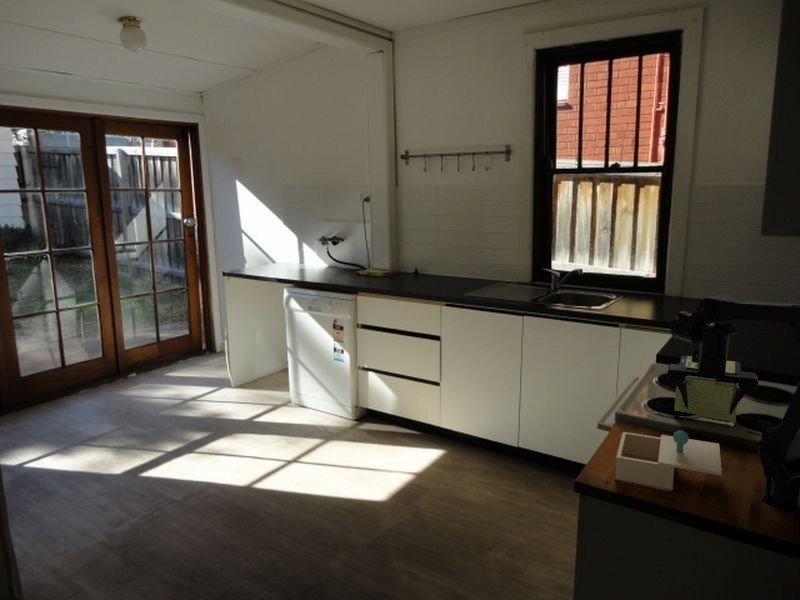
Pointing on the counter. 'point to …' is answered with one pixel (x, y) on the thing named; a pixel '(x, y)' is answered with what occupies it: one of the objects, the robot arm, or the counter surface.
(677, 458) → the carton lid
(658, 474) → the carton
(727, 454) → the counter surface
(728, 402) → the protein box
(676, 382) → the robot arm
